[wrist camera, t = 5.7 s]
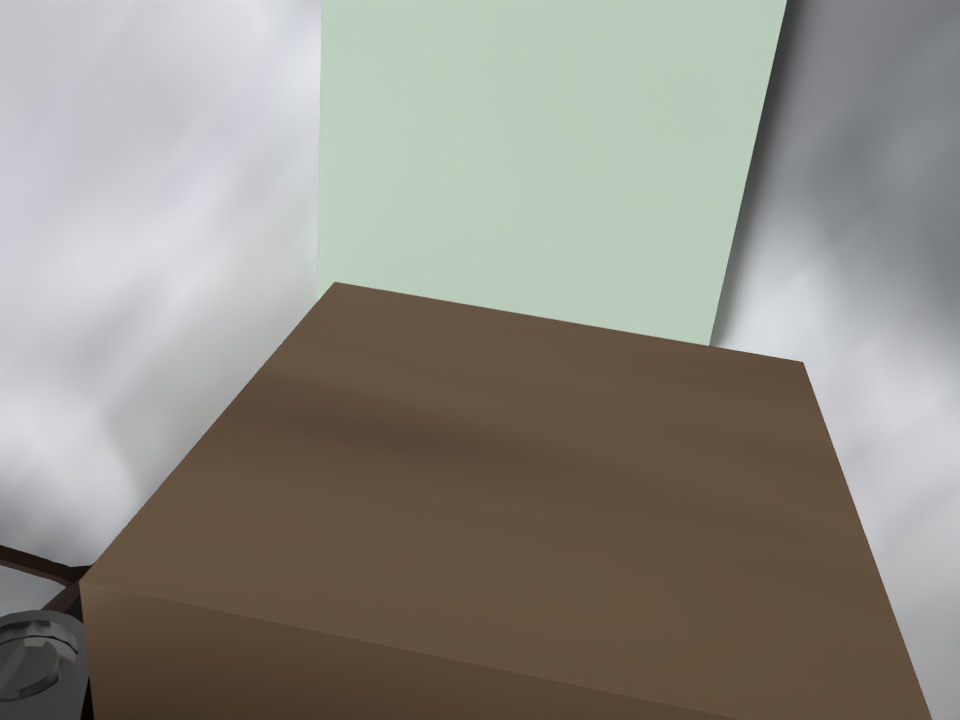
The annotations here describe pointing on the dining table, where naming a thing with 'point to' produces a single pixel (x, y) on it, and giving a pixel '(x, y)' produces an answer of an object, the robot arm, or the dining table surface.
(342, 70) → the green tile
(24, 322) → the dining table surface
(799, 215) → the dining table surface
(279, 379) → the walnut cube
